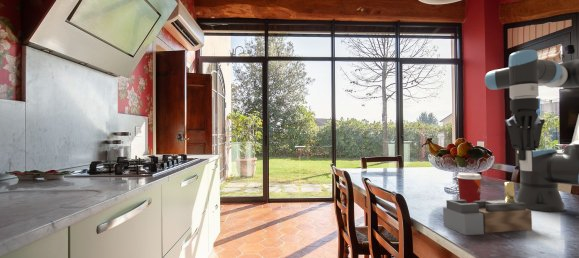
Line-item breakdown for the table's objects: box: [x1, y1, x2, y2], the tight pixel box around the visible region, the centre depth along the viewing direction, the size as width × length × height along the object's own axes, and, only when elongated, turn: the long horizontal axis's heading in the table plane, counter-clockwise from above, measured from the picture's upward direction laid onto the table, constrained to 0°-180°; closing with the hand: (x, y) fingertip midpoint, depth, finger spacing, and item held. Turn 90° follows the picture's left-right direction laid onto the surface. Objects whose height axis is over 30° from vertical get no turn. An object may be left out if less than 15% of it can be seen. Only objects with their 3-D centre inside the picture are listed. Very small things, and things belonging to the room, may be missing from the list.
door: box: [473, 198, 533, 234], centre depth 96 cm, size 16×8×8 cm, turn 98°
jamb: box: [442, 199, 485, 236], centre depth 94 cm, size 6×10×9 cm, turn 8°
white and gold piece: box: [485, 181, 518, 204], centre depth 96 cm, size 9×3×8 cm, turn 98°
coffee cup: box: [456, 172, 483, 203], centre depth 112 cm, size 8×8×15 cm
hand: (526, 170), depth 98 cm, fingers closed
